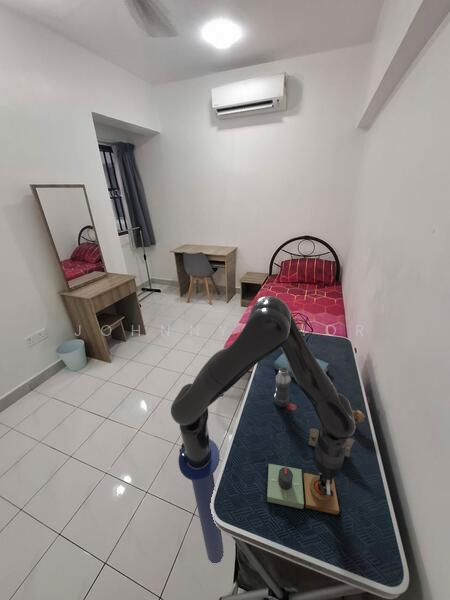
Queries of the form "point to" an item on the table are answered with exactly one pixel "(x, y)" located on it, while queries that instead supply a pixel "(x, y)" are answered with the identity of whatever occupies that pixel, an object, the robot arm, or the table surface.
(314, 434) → the comb
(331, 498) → the button box
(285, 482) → the knob
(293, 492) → the green dial box
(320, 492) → the button
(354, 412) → the lion figurine
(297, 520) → the table surface
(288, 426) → the table surface
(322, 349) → the table surface
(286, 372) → the plastic bottle
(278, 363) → the book
